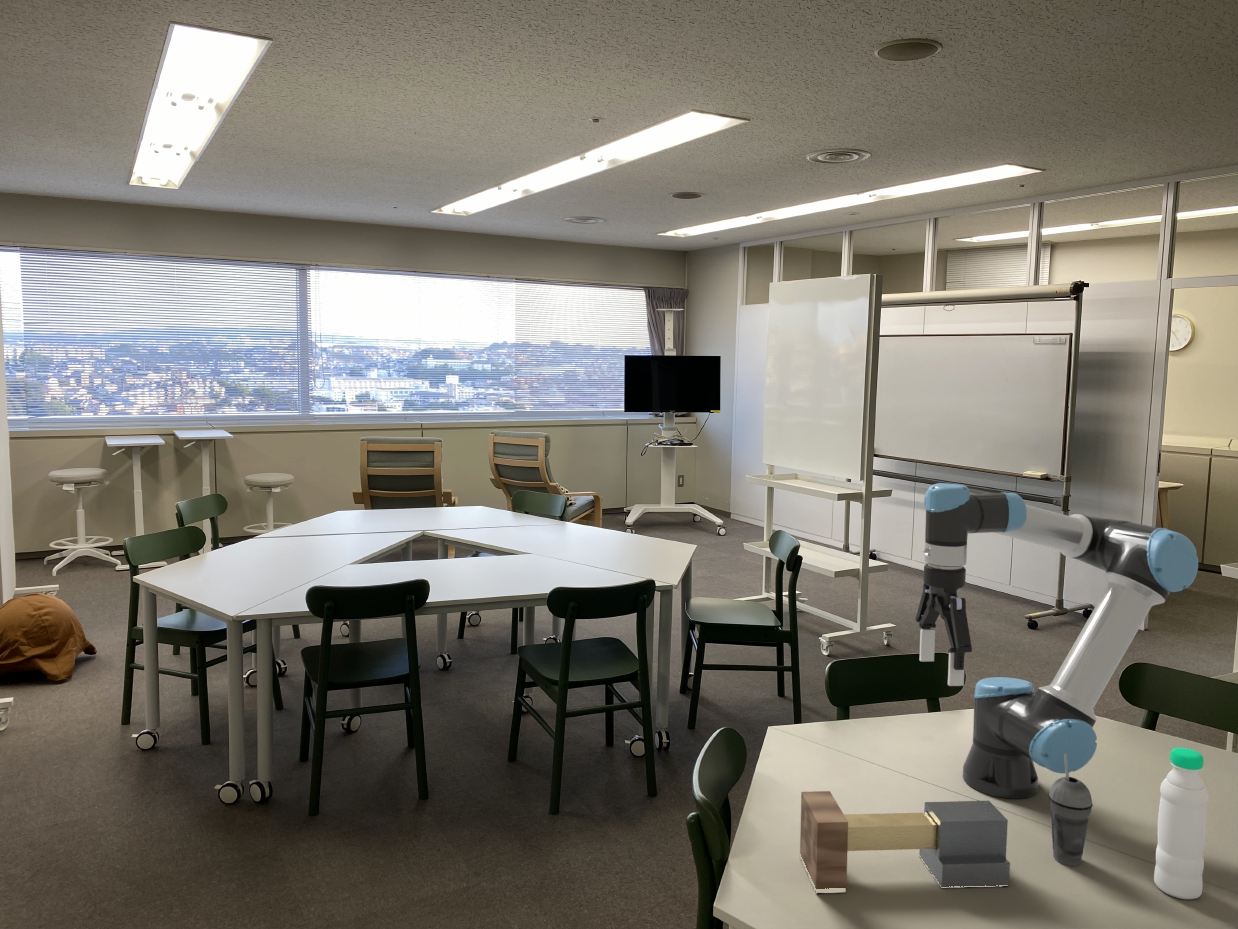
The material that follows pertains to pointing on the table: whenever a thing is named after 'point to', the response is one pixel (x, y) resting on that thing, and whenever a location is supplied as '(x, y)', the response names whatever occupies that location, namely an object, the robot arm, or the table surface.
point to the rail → (891, 831)
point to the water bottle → (1182, 827)
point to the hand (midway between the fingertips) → (940, 672)
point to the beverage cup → (1069, 817)
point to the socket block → (824, 839)
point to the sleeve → (968, 844)
